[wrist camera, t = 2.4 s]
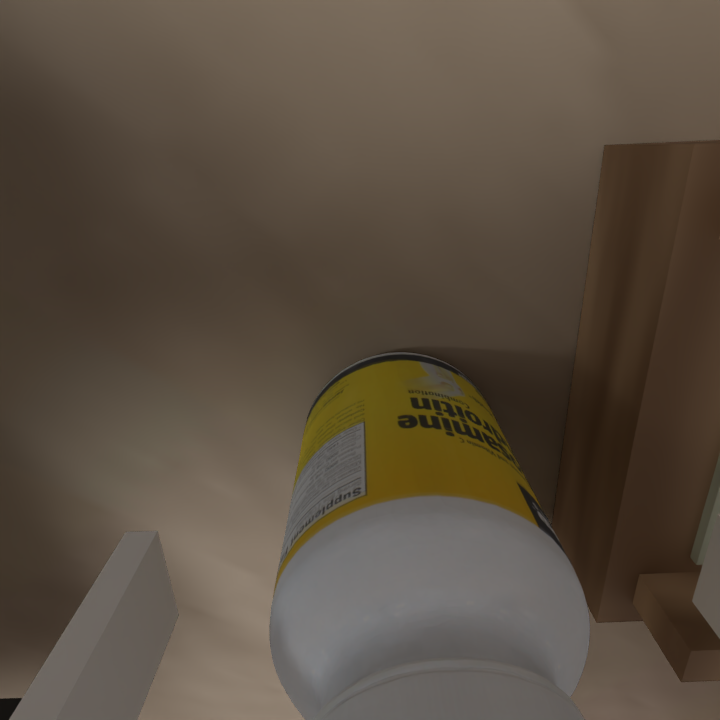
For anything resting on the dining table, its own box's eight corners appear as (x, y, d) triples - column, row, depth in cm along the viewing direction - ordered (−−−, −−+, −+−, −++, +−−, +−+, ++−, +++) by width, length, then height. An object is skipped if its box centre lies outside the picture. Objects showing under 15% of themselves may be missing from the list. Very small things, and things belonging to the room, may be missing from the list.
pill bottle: (515, 459, 18) (748, 903, 7) (360, 527, 19) (369, 997, 9) (440, 309, 16) (620, 641, 5) (268, 397, 17) (129, 815, 6)
